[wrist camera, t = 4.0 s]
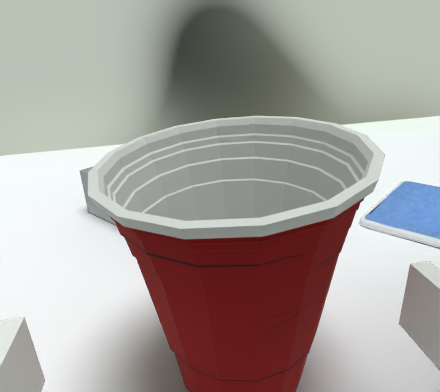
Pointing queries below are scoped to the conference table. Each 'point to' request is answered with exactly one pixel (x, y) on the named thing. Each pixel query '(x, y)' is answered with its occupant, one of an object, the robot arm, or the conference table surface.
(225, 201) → the plastic cup
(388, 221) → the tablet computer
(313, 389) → the conference table surface
